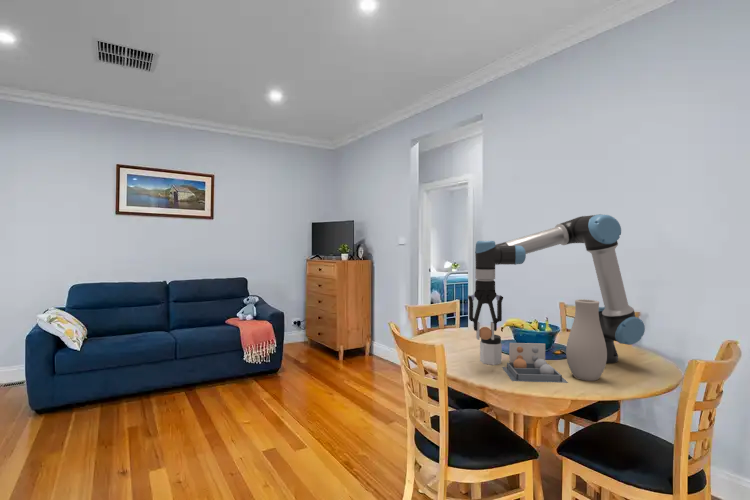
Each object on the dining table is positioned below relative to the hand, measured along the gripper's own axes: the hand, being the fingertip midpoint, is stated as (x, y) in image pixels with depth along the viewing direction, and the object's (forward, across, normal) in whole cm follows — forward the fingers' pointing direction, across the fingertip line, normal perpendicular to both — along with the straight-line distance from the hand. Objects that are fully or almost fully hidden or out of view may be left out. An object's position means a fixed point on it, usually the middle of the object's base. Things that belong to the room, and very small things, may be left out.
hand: (485, 338), depth 163 cm
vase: (+14, -37, +4) cm, 40 cm away
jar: (+14, -5, -13) cm, 20 cm away
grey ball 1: (+13, -22, -1) cm, 25 cm away
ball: (0, 0, 0) cm, 0 cm away
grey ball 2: (+13, -22, +6) cm, 26 cm away
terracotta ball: (+13, -14, -1) cm, 19 cm away
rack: (+14, -18, +3) cm, 23 cm away
